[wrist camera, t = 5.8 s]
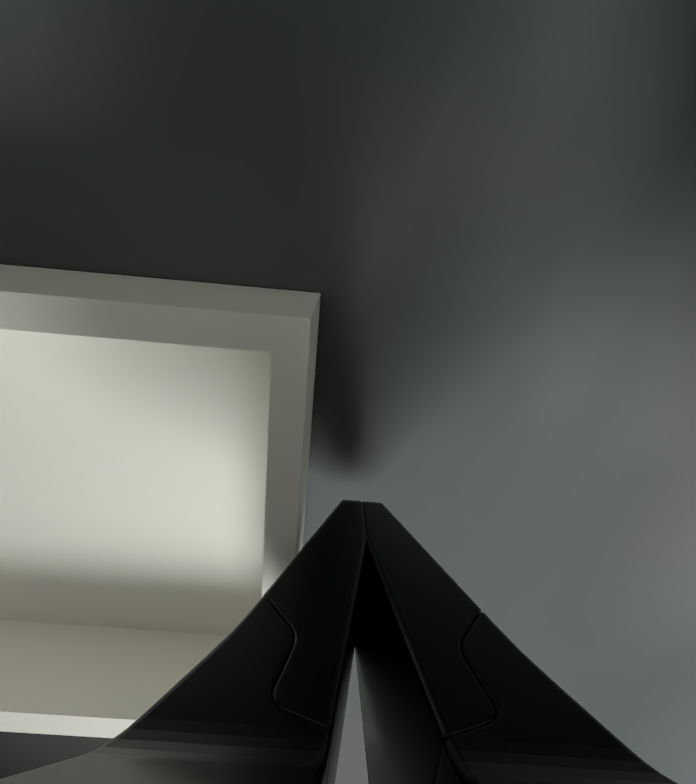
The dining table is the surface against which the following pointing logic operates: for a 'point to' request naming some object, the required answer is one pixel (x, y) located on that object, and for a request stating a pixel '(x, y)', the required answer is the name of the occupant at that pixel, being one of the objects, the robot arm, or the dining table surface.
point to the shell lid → (140, 482)
